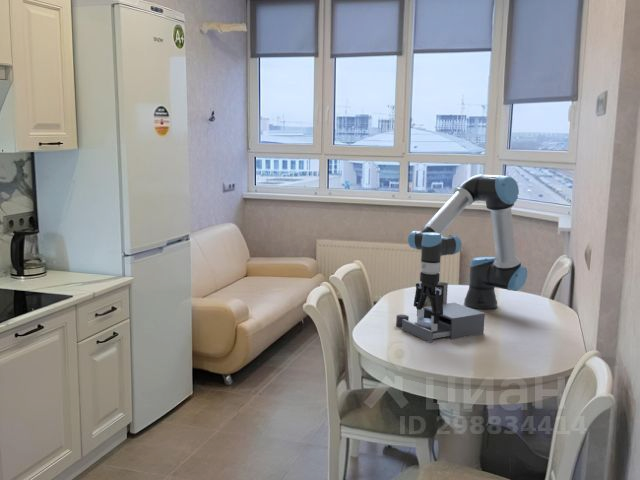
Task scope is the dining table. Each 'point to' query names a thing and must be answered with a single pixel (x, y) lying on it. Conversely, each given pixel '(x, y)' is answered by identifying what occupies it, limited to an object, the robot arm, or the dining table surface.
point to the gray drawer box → (460, 320)
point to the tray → (427, 330)
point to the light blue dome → (424, 322)
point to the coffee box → (443, 287)
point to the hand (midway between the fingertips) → (426, 328)
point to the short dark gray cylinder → (399, 319)
